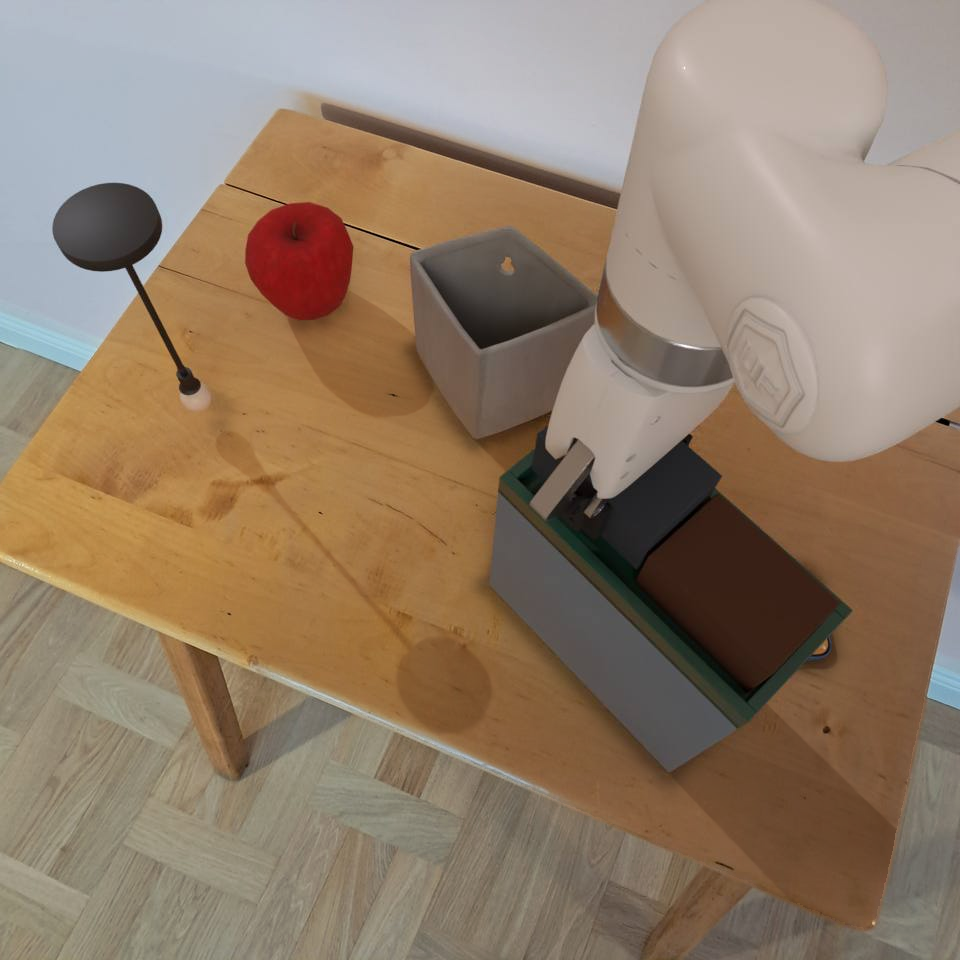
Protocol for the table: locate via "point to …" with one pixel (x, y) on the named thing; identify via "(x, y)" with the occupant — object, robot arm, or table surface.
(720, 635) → the brown block
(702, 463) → the dark grey rectangular block
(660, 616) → the box
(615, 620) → the stand
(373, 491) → the table surface
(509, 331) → the planter
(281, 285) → the apple
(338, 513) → the table surface
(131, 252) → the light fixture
